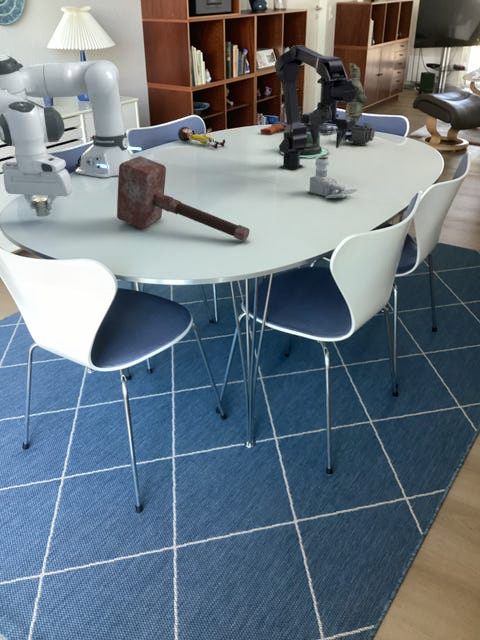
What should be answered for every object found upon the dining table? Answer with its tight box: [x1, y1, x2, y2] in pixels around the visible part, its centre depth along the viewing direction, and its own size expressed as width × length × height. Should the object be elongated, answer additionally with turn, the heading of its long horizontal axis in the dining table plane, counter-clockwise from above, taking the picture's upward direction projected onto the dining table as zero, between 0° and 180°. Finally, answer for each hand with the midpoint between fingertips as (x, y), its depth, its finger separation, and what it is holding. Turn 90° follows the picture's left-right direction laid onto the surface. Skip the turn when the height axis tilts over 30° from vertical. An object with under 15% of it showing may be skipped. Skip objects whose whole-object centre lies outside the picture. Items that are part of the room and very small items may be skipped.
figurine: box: [177, 126, 226, 150], centre depth 251 cm, size 13×8×25 cm
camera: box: [308, 155, 359, 199], centre depth 182 cm, size 9×12×15 cm
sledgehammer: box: [116, 155, 250, 242], centre depth 156 cm, size 17×10×40 cm
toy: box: [342, 122, 376, 146], centre depth 244 cm, size 9×9×15 cm
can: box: [33, 196, 52, 218], centre depth 167 cm, size 4×4×5 cm
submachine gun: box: [260, 121, 335, 136], centre depth 265 cm, size 32×3×25 cm
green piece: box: [280, 128, 328, 159], centre depth 234 cm, size 15×19×20 cm
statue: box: [344, 62, 368, 125], centre depth 262 cm, size 11×9×30 cm
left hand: (42, 208), depth 167 cm, fingers closed on can, 4 cm apart
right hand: (326, 146), depth 194 cm, fingers open, 9 cm apart
